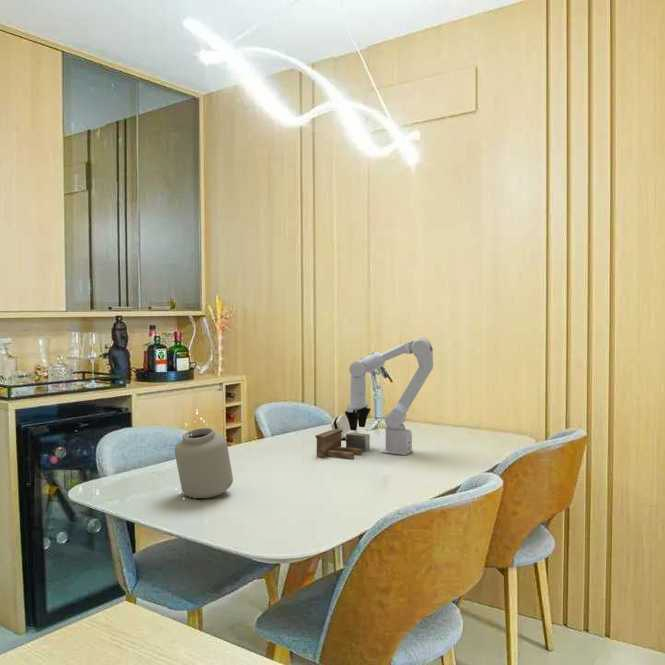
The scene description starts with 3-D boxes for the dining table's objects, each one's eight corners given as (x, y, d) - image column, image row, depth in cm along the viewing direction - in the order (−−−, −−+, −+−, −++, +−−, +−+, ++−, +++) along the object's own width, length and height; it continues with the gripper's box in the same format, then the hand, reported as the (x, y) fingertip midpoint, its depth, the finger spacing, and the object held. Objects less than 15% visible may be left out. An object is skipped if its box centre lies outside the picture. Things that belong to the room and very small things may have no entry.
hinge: (346, 440, 267) (339, 417, 268) (336, 444, 268) (328, 420, 269) (358, 433, 283) (350, 411, 283) (348, 436, 284) (340, 414, 285)
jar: (192, 508, 177) (192, 415, 176) (158, 498, 186) (157, 410, 185) (243, 492, 192) (243, 407, 191) (209, 484, 201) (209, 402, 200)
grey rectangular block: (369, 450, 250) (369, 434, 250) (365, 452, 247) (365, 436, 246) (350, 448, 254) (350, 432, 254) (345, 450, 250) (346, 434, 250)
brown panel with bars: (365, 453, 245) (365, 432, 244) (348, 461, 232) (348, 439, 231) (333, 449, 251) (333, 428, 250) (315, 457, 238) (315, 435, 237)
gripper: (356, 390, 258) (356, 424, 258) (340, 394, 245) (339, 430, 245) (373, 391, 255) (372, 426, 255) (357, 395, 242) (356, 432, 242)
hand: (357, 428), depth 250 cm, fingers open, 7 cm apart
